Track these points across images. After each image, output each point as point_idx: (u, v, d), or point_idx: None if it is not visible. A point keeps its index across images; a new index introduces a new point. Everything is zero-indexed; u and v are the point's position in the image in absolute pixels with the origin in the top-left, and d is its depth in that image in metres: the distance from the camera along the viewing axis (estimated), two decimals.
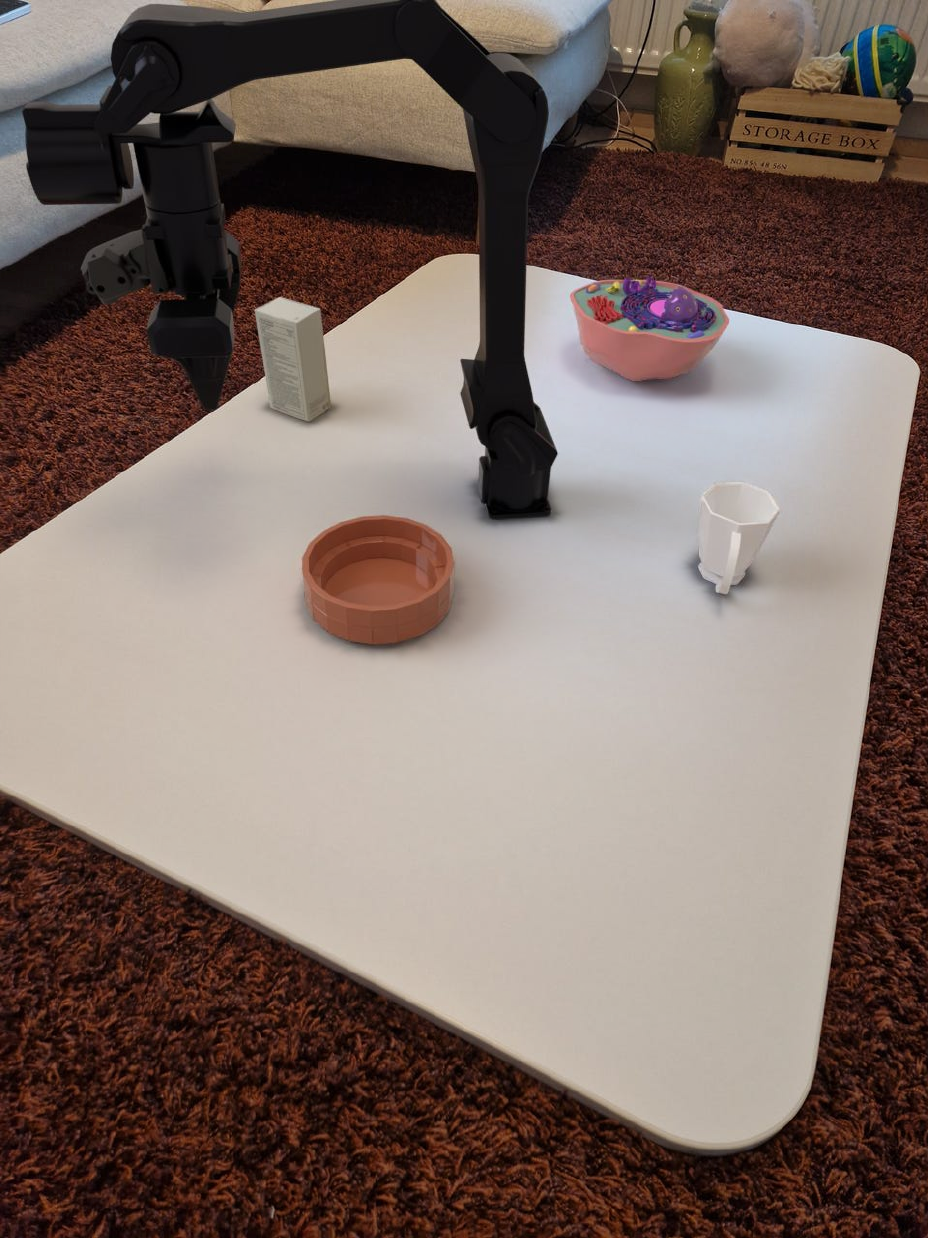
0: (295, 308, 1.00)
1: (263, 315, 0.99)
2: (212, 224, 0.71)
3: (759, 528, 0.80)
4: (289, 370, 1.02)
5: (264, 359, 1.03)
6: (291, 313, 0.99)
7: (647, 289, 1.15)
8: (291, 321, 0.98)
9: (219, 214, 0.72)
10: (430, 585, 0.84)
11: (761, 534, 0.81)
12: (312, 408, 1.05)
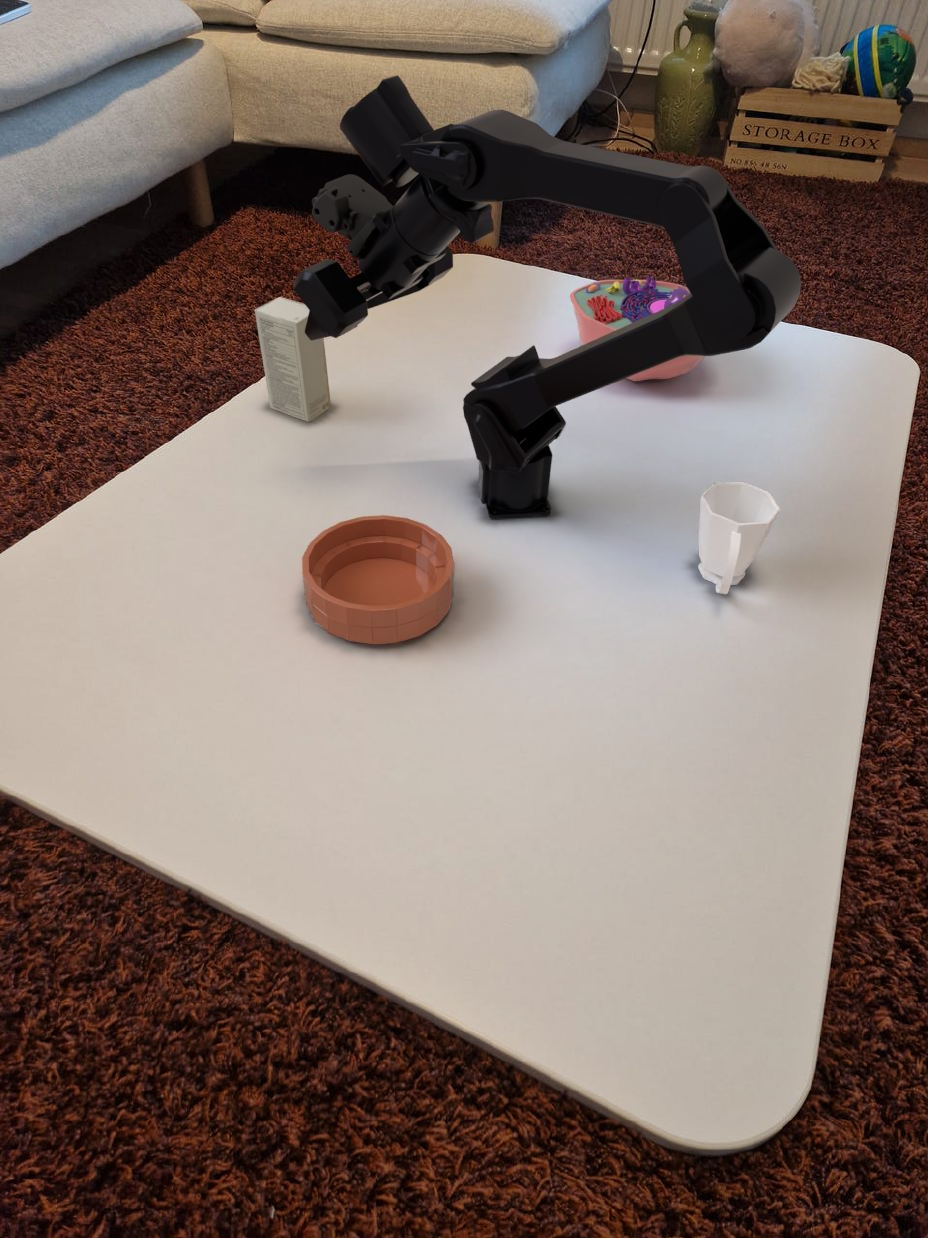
0: (295, 308, 1.00)
1: (263, 315, 0.99)
2: (413, 262, 0.83)
3: (759, 528, 0.80)
4: (289, 370, 1.02)
5: (264, 359, 1.03)
6: (291, 313, 0.99)
7: (647, 289, 1.15)
8: (291, 321, 0.98)
9: (427, 260, 0.84)
10: (430, 585, 0.84)
11: (761, 534, 0.81)
12: (312, 408, 1.05)
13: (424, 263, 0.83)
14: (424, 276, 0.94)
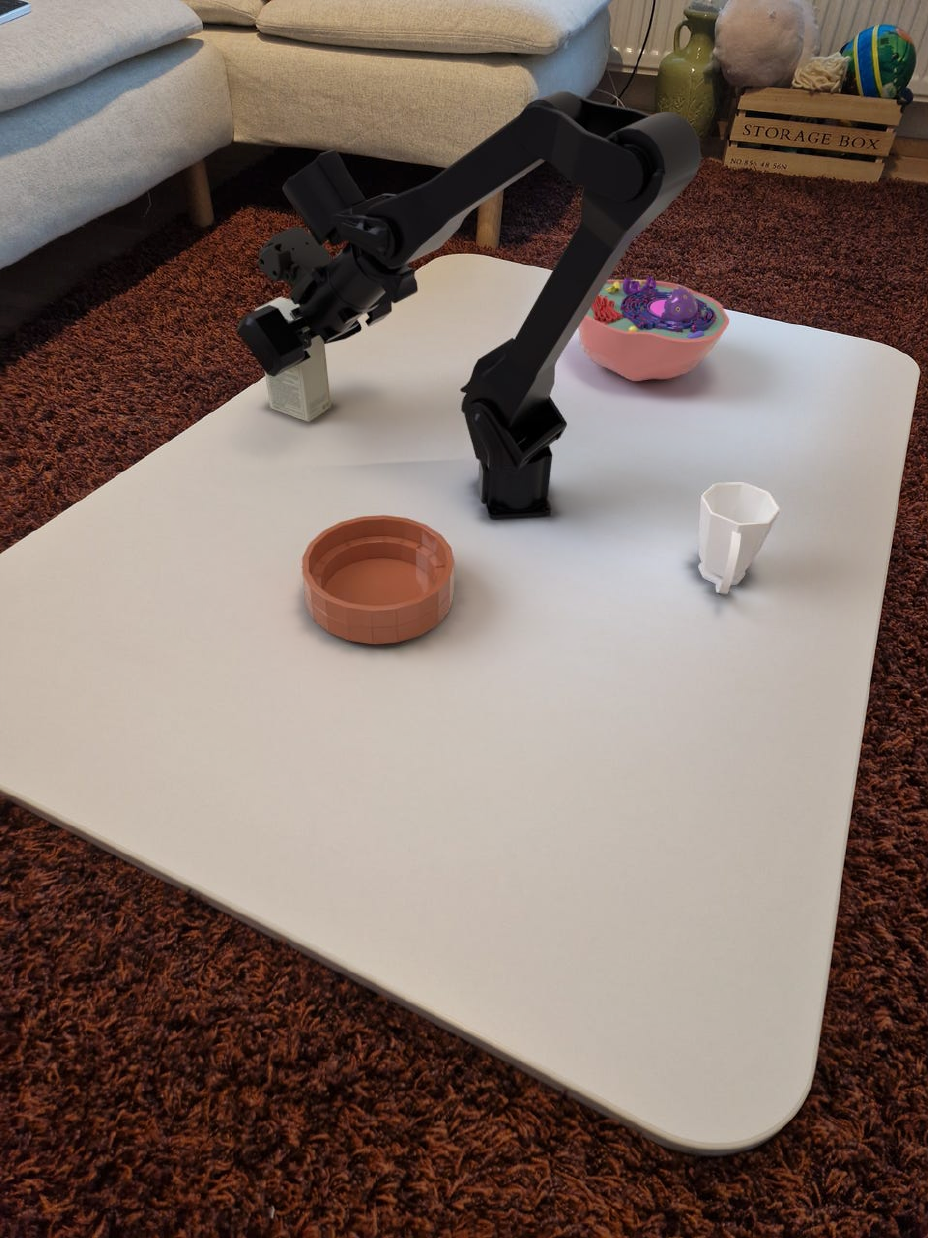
0: None
1: None
2: (345, 314, 0.92)
3: (759, 528, 0.80)
4: (289, 370, 1.02)
5: None
6: None
7: (647, 289, 1.15)
8: None
9: (359, 312, 0.93)
10: (430, 585, 0.84)
11: (761, 534, 0.81)
12: (312, 408, 1.05)
13: (356, 314, 0.93)
14: None
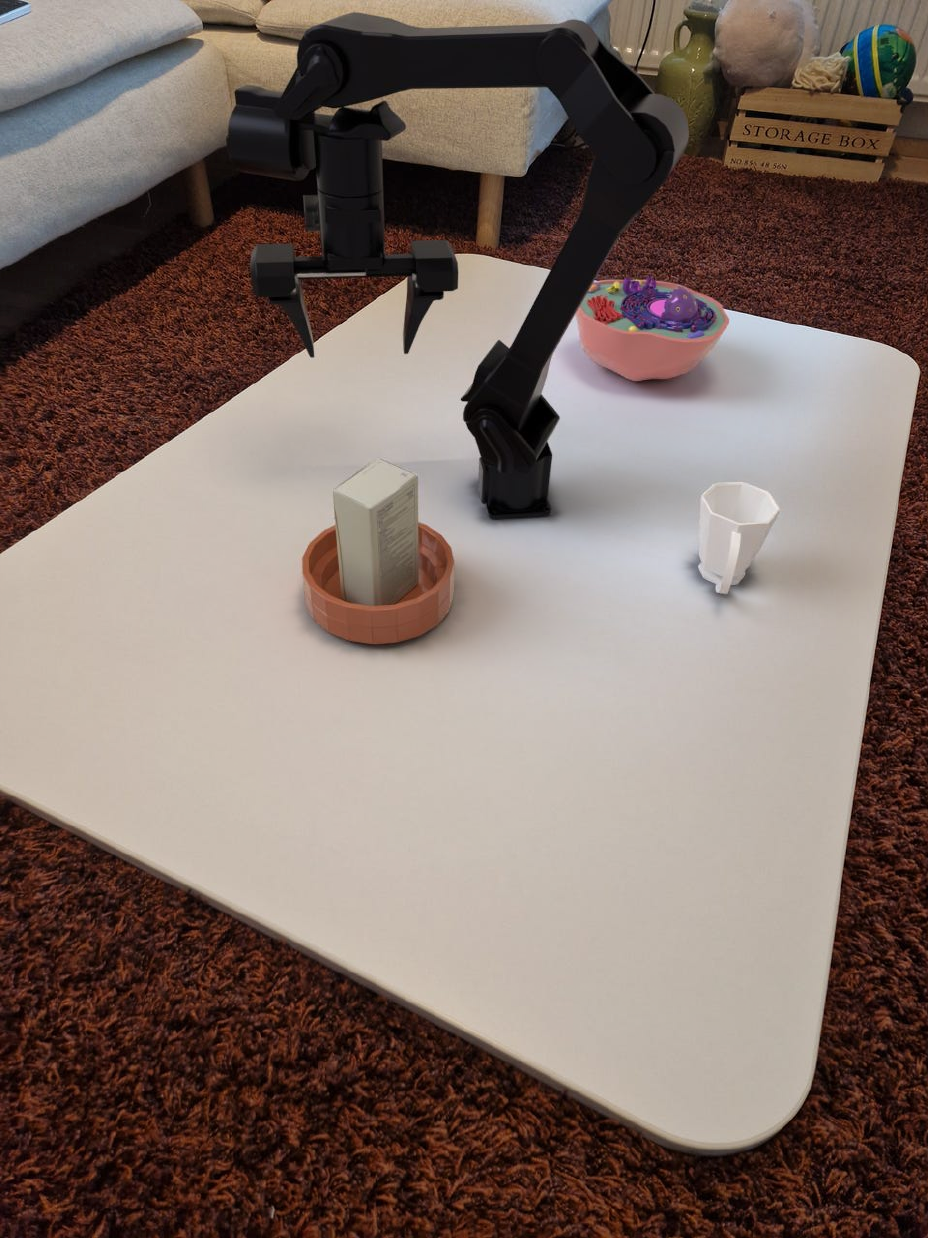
0: (375, 475, 0.75)
1: (382, 504, 0.73)
2: (324, 208, 0.79)
3: (759, 528, 0.80)
4: (405, 543, 0.79)
5: (377, 561, 0.76)
6: (388, 478, 0.75)
7: (647, 289, 1.15)
8: (410, 479, 0.75)
9: (342, 207, 0.79)
10: (430, 585, 0.84)
11: (761, 534, 0.81)
12: None
13: (338, 210, 0.79)
14: None
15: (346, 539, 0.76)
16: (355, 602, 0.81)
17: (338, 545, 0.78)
